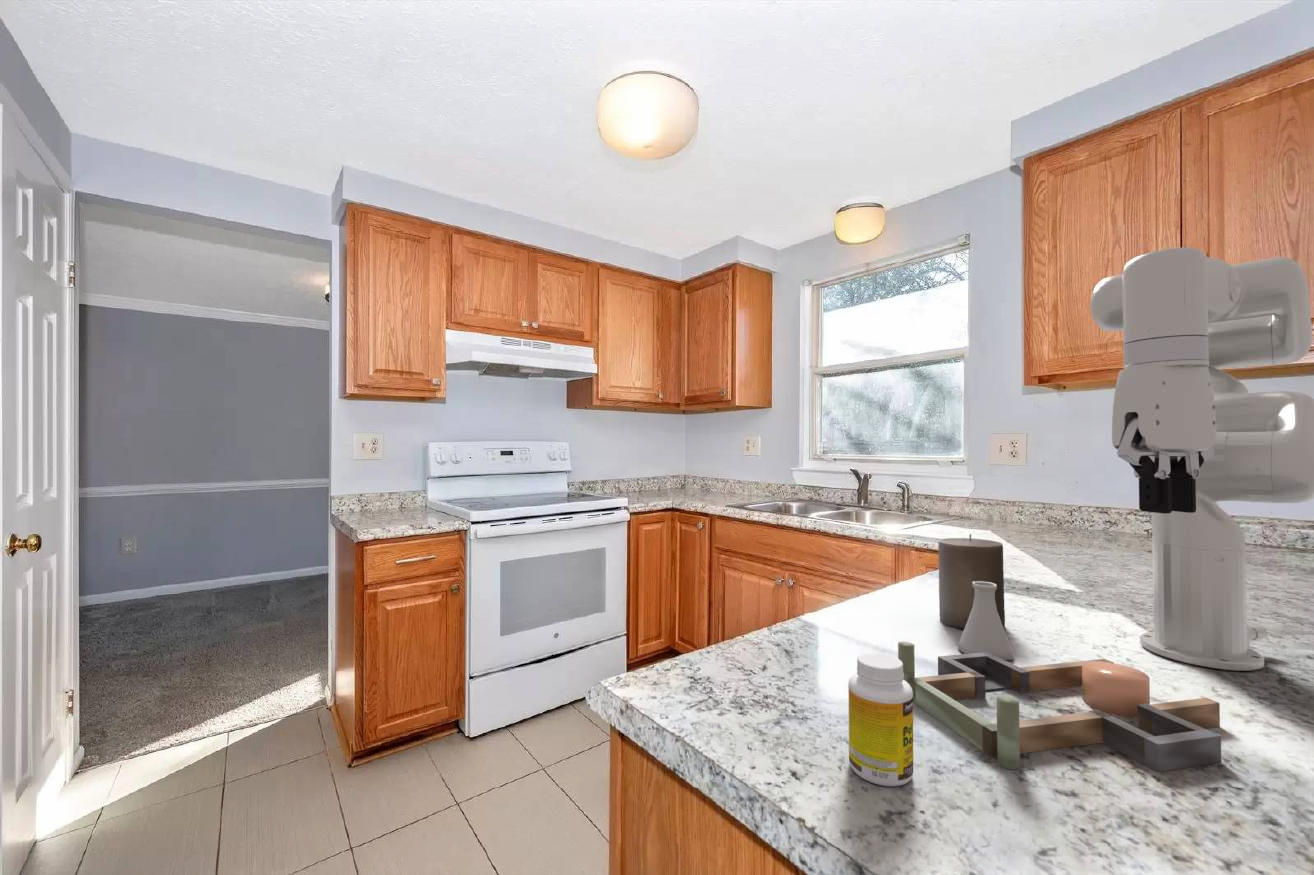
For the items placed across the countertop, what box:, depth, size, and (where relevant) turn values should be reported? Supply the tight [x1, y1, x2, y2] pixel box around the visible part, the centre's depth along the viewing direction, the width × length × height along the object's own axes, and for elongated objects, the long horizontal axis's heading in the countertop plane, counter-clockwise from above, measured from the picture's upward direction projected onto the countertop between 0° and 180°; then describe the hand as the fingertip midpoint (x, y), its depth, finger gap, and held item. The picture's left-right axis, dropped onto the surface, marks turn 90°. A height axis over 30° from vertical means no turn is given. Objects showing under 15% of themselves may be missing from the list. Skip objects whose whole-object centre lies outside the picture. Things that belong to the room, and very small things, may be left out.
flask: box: [957, 581, 1015, 661], centre depth 80 cm, size 7×7×10 cm
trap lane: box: [897, 641, 1222, 773], centre depth 62 cm, size 28×23×6 cm
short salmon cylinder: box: [1081, 661, 1151, 719], centre depth 64 cm, size 6×6×4 cm
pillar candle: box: [937, 533, 1006, 630], centre depth 94 cm, size 10×10×15 cm
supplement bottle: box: [847, 652, 914, 787], centre depth 51 cm, size 6×6×10 cm
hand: (1167, 510), depth 66 cm, fingers open, 2 cm apart
